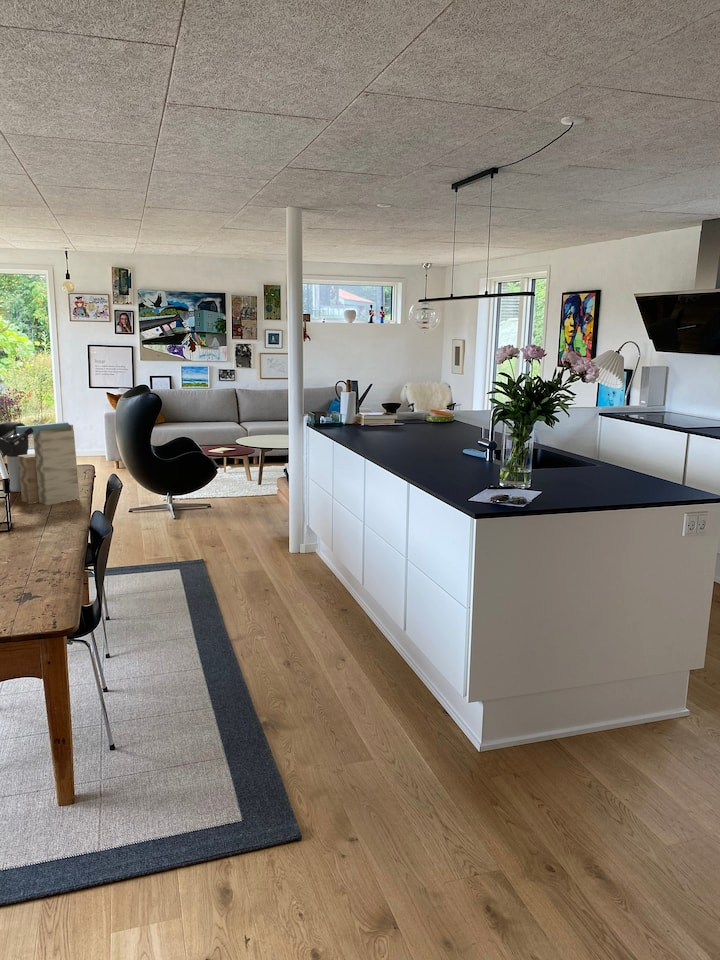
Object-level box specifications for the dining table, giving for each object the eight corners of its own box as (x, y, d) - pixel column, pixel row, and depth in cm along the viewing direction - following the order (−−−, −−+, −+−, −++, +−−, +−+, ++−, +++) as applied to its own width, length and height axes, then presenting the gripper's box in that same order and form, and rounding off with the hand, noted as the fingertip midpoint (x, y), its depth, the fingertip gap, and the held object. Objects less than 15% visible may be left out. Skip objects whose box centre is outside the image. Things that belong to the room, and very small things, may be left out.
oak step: (22, 500, 335) (17, 455, 331) (51, 495, 345) (47, 451, 341) (30, 503, 330) (25, 457, 326) (60, 498, 340) (56, 453, 336)
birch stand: (39, 502, 332) (32, 426, 325) (70, 496, 343) (64, 423, 336) (47, 505, 327) (40, 428, 320) (79, 499, 338) (73, 425, 331)
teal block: (16, 434, 318) (15, 426, 318) (65, 429, 334) (64, 422, 334) (20, 435, 316) (19, 427, 315) (69, 430, 332) (68, 422, 331)
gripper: (-2, 445, 304) (30, 422, 313) (-16, 441, 314) (15, 420, 322) (9, 459, 308) (40, 436, 317) (-6, 455, 318) (25, 433, 326)
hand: (27, 428), depth 320 cm, fingers open, 8 cm apart
